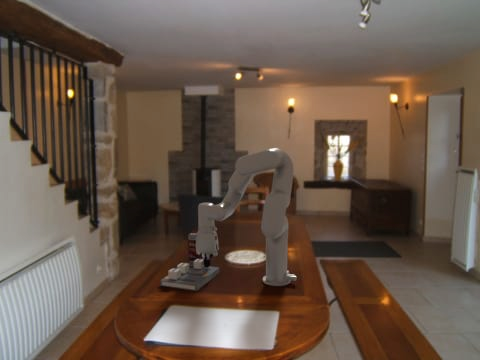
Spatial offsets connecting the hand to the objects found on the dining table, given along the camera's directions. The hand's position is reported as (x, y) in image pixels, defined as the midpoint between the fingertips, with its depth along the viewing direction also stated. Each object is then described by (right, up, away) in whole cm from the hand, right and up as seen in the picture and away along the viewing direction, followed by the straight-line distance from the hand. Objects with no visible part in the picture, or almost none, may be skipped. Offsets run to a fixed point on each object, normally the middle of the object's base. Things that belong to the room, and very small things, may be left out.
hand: (207, 266), depth 196 cm
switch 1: (-14, -2, -12) cm, 18 cm away
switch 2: (-11, -1, -4) cm, 12 cm away
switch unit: (-7, -4, -5) cm, 10 cm away
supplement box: (-6, -2, +14) cm, 16 cm away
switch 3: (-4, -1, +2) cm, 4 cm away
